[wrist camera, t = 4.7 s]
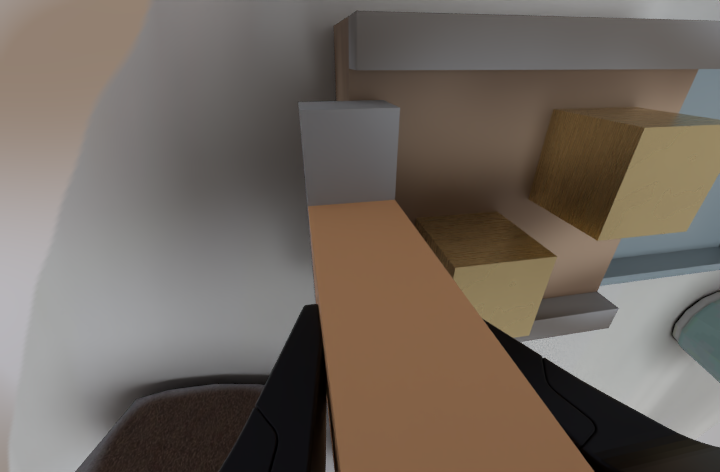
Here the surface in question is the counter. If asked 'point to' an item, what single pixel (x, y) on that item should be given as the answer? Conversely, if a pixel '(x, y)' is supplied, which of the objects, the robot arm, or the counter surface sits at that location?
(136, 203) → the counter surface
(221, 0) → the counter surface
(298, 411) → the robot arm
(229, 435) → the dark brown rounded block
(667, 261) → the slate tray
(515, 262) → the brass block
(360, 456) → the brown and grey block
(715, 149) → the brass block
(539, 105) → the railed tan board
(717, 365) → the disposable coffee cup
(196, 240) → the counter surface
